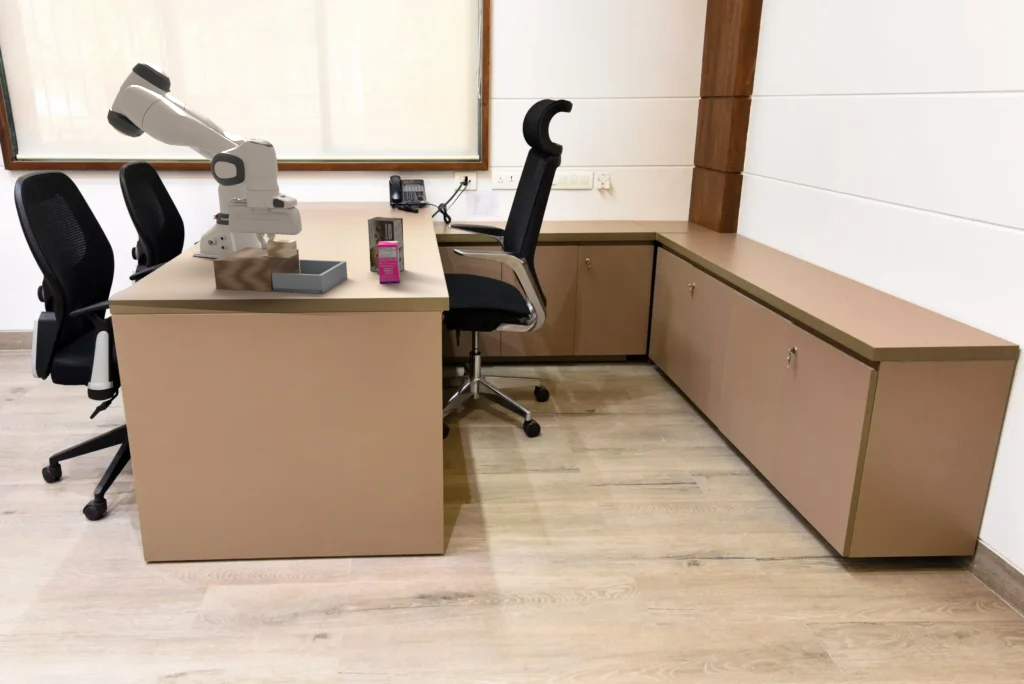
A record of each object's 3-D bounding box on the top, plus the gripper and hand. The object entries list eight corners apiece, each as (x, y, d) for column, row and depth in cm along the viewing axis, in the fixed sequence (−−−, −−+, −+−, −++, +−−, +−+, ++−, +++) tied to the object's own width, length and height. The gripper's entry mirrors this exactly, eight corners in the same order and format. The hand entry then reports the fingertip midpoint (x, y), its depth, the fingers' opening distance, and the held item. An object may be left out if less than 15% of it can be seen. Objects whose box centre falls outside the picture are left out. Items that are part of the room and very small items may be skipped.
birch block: (267, 257, 209) (266, 242, 207) (277, 253, 214) (276, 239, 213) (288, 258, 208) (287, 243, 207) (297, 254, 214) (296, 240, 212)
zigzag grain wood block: (216, 288, 206) (213, 260, 204) (249, 273, 225) (246, 247, 223) (271, 291, 204) (269, 262, 202) (300, 275, 223) (298, 249, 221)
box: (273, 291, 204) (271, 273, 203) (301, 275, 223) (300, 259, 222) (322, 293, 203) (321, 275, 201) (347, 277, 222) (346, 261, 220)
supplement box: (380, 279, 221) (378, 240, 217) (400, 279, 221) (399, 240, 218) (378, 283, 215) (377, 244, 212) (399, 283, 216) (398, 244, 212)
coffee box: (405, 269, 235) (403, 217, 230) (395, 273, 229) (394, 220, 224) (379, 267, 237) (377, 216, 233) (369, 270, 232) (367, 218, 227)
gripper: (222, 199, 205) (226, 249, 209) (293, 202, 203) (296, 253, 207) (233, 197, 211) (237, 245, 215) (302, 200, 209) (305, 249, 213)
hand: (266, 249), depth 211 cm, fingers closed
